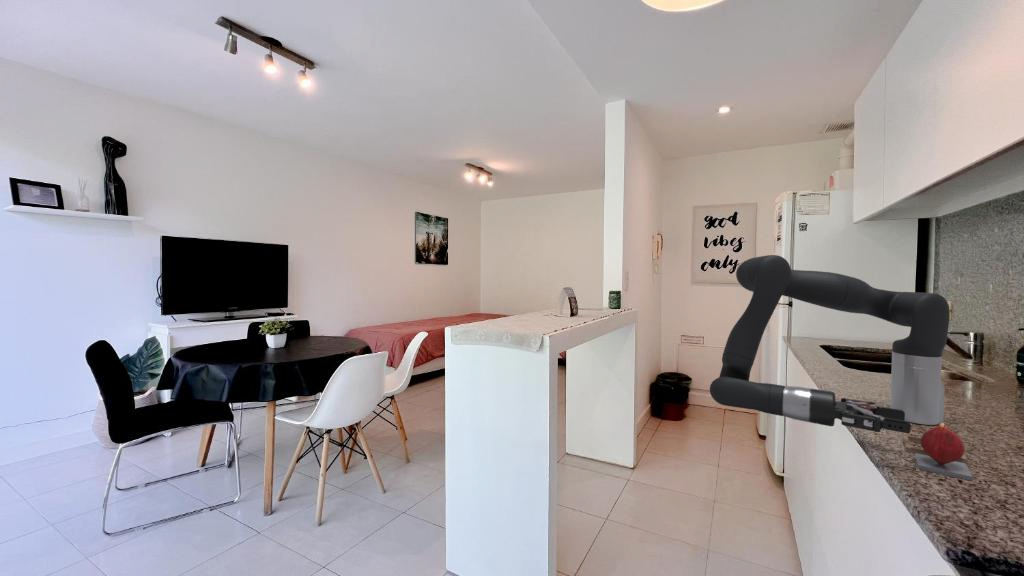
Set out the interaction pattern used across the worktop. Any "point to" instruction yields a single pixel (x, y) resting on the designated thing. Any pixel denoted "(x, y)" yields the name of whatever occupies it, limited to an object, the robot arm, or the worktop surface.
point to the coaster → (943, 467)
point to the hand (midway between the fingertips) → (907, 421)
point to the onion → (942, 444)
